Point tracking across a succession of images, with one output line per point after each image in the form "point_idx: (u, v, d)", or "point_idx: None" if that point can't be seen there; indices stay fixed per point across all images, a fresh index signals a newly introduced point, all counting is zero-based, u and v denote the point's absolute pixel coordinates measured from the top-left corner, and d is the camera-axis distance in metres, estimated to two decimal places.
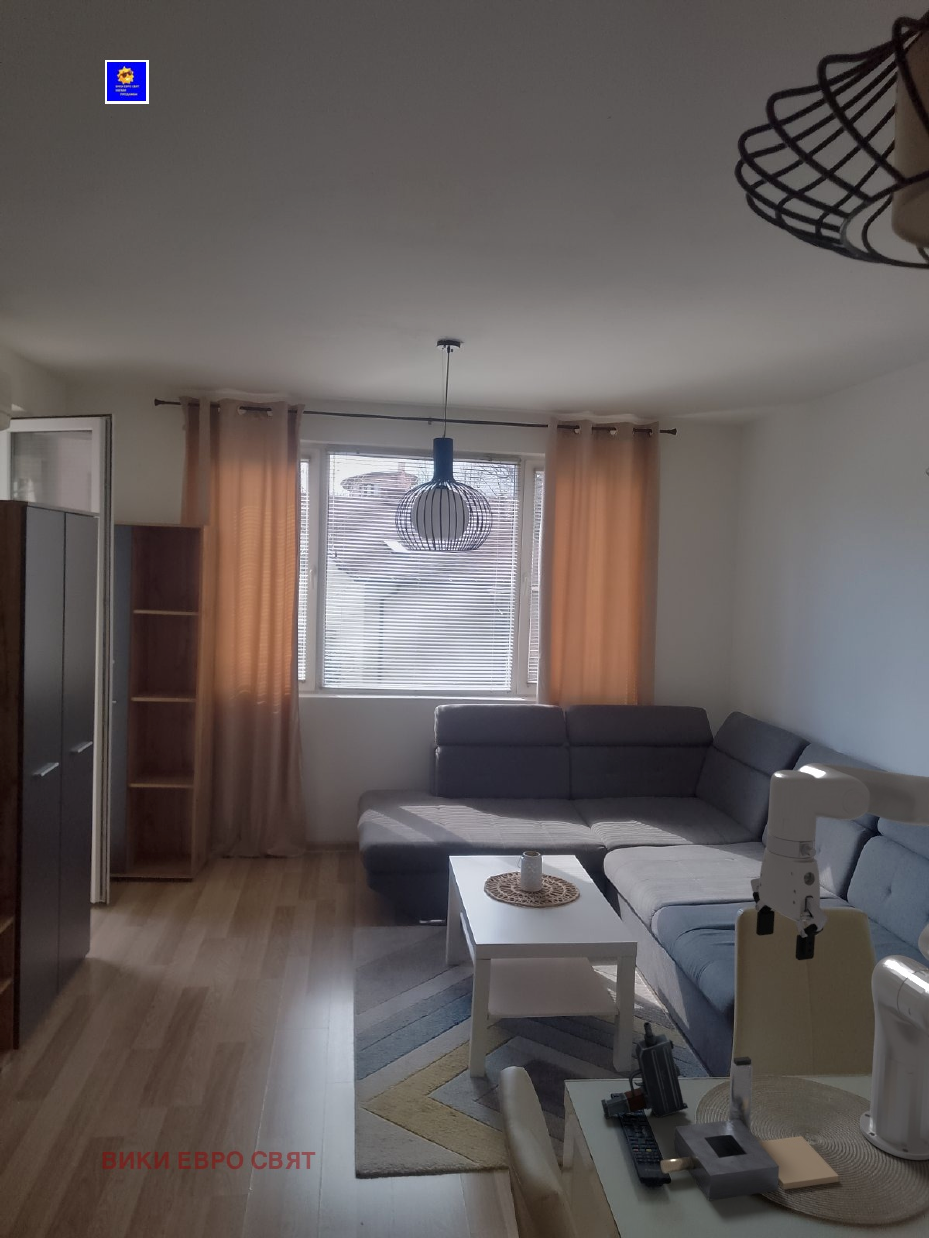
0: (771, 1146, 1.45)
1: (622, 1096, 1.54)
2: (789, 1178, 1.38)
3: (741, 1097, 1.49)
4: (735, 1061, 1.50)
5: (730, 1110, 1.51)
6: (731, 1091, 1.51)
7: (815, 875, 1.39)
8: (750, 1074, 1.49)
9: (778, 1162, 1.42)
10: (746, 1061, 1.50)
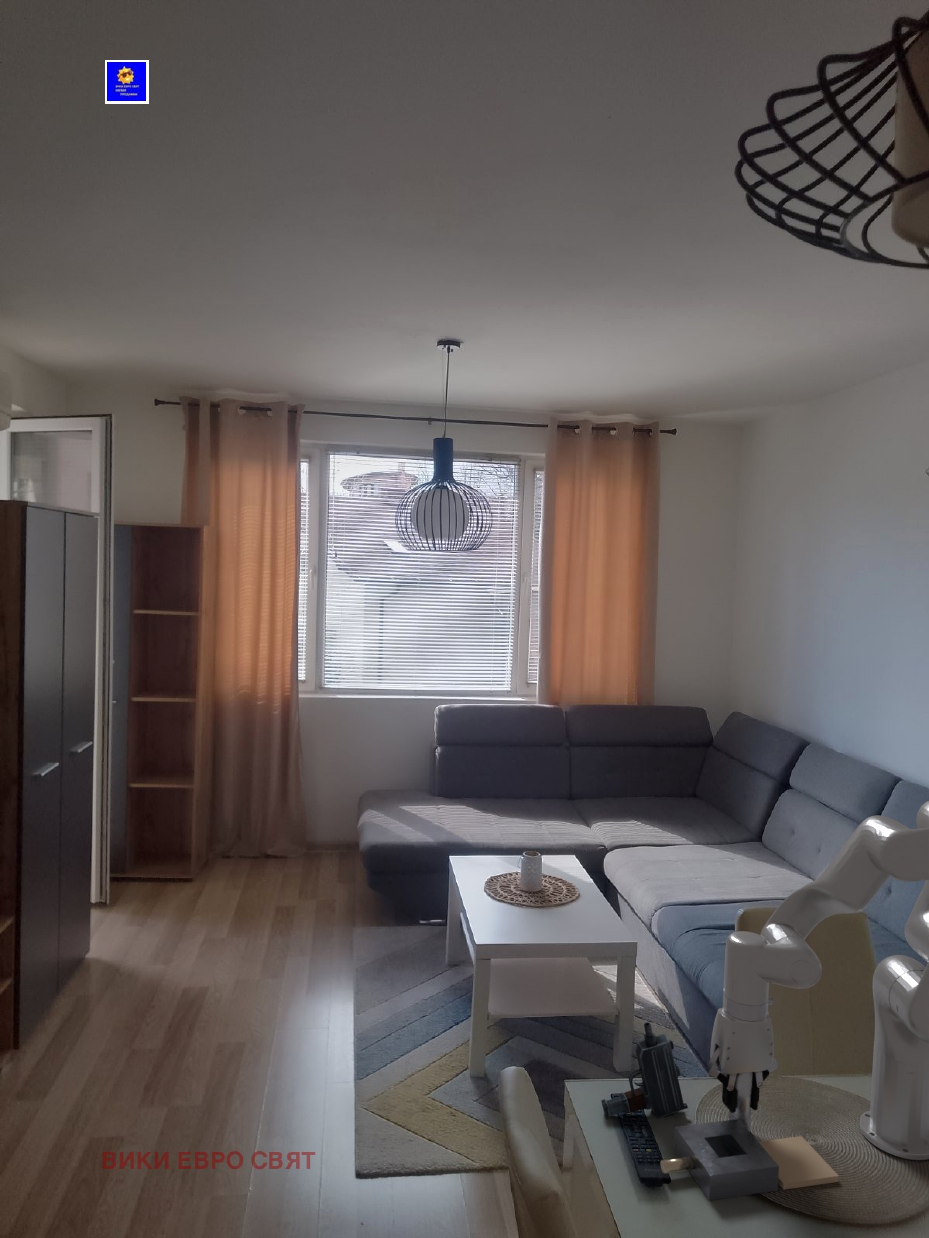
0: (771, 1146, 1.45)
1: (622, 1096, 1.54)
2: (789, 1178, 1.38)
3: (741, 1097, 1.49)
4: None
5: None
6: None
7: None
8: (750, 1074, 1.49)
9: (778, 1162, 1.42)
10: None
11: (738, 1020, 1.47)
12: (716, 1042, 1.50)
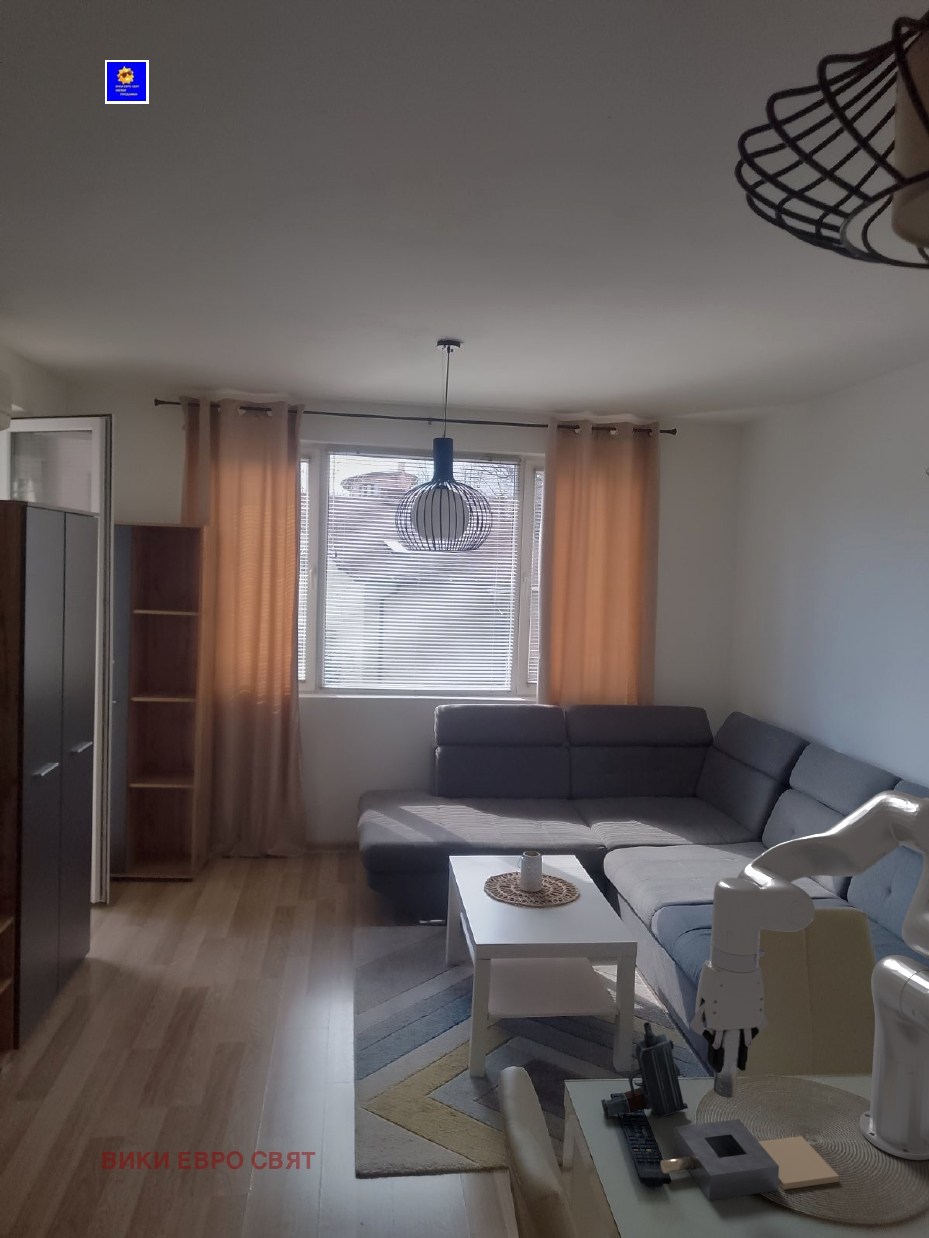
0: (771, 1146, 1.45)
1: (622, 1096, 1.54)
2: (789, 1178, 1.38)
3: (728, 1056, 1.38)
4: None
5: None
6: None
7: None
8: (738, 1031, 1.38)
9: (778, 1162, 1.42)
10: None
11: (726, 971, 1.36)
12: (702, 996, 1.38)
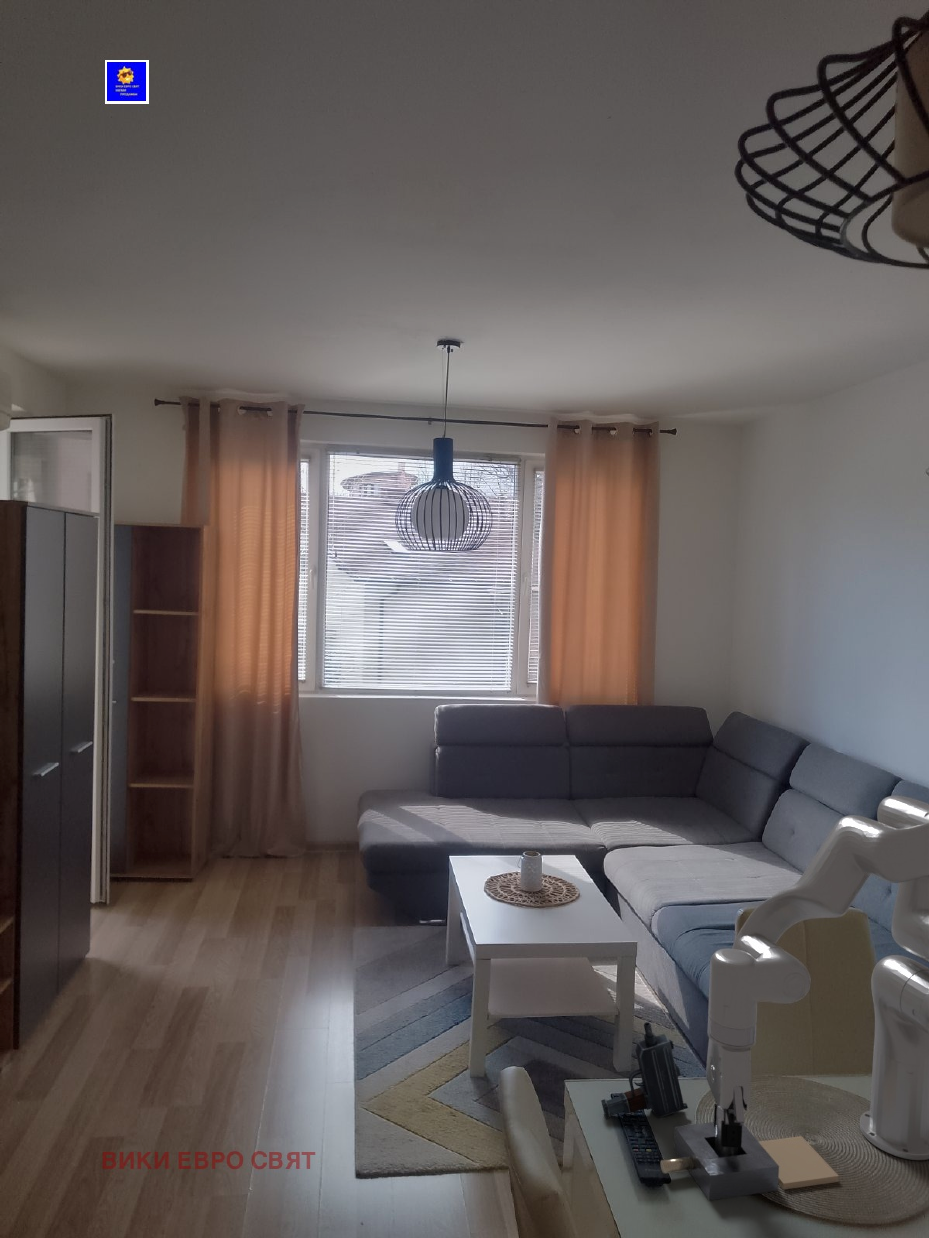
0: (771, 1146, 1.45)
1: (622, 1096, 1.54)
2: (789, 1178, 1.38)
3: None
4: None
5: (728, 1147, 1.39)
6: None
7: None
8: None
9: (778, 1162, 1.42)
10: None
11: (751, 1045, 1.37)
12: (737, 1084, 1.35)
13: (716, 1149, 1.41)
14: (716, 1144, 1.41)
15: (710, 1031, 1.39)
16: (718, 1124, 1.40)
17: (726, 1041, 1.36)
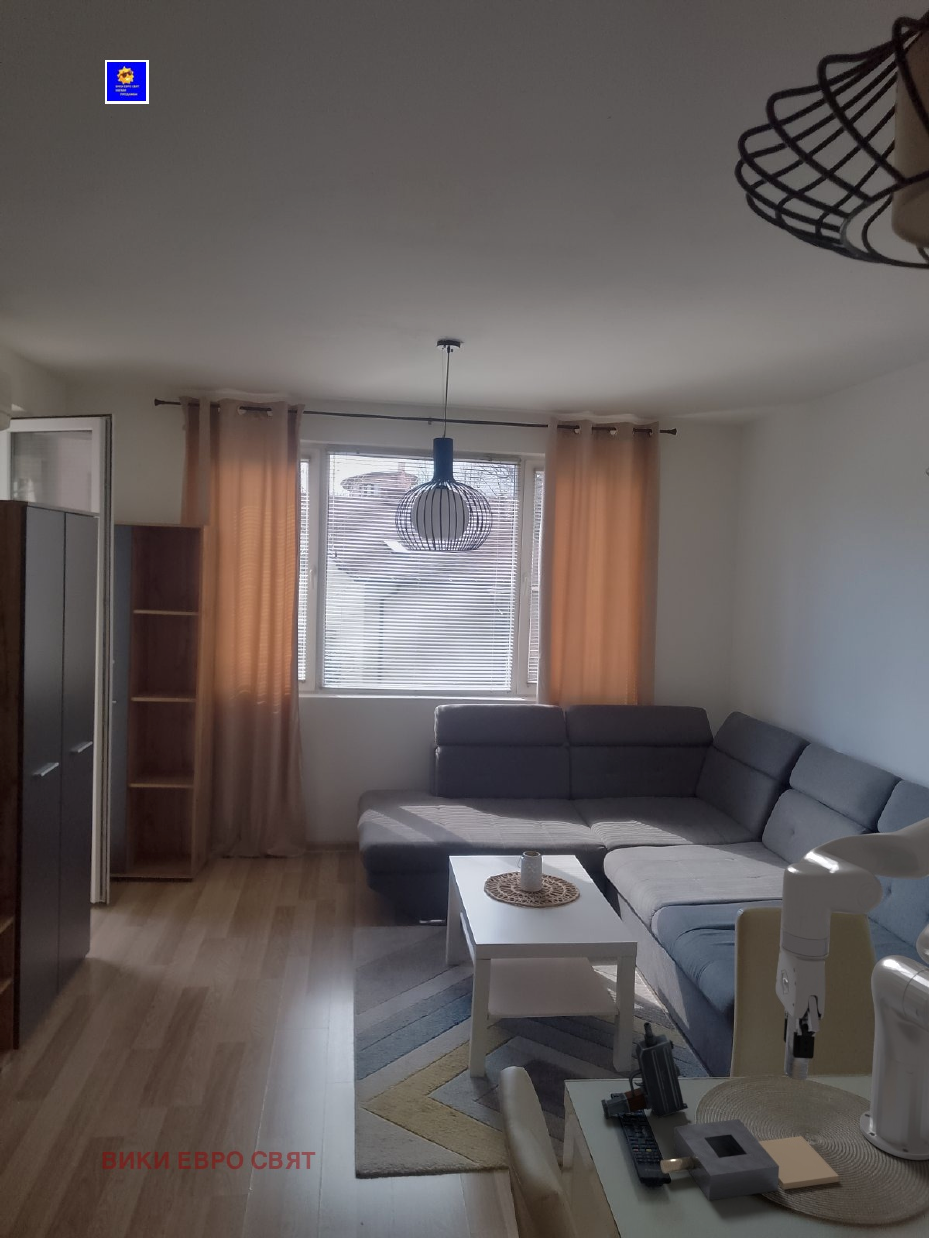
0: (771, 1146, 1.45)
1: (622, 1096, 1.54)
2: (789, 1178, 1.38)
3: None
4: None
5: (799, 1059, 1.40)
6: None
7: None
8: None
9: (778, 1162, 1.42)
10: None
11: (825, 956, 1.38)
12: (812, 993, 1.36)
13: (786, 1061, 1.41)
14: (786, 1056, 1.41)
15: (783, 943, 1.40)
16: (789, 1036, 1.41)
17: (800, 951, 1.37)
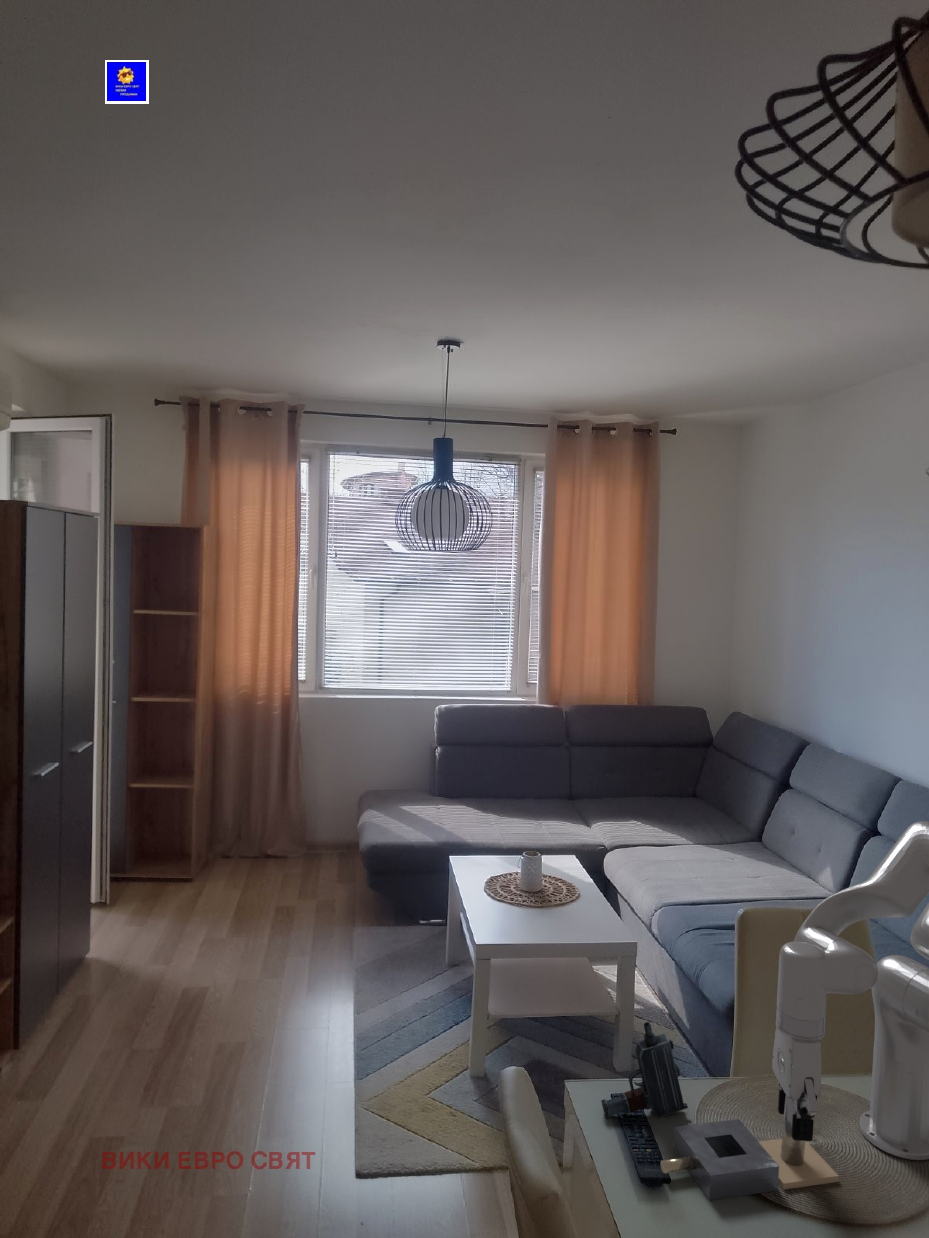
0: (771, 1146, 1.45)
1: (622, 1096, 1.54)
2: (789, 1178, 1.38)
3: None
4: None
5: (796, 1144, 1.41)
6: None
7: None
8: None
9: (778, 1162, 1.42)
10: None
11: (821, 1037, 1.39)
12: (808, 1075, 1.37)
13: (783, 1146, 1.42)
14: (783, 1141, 1.42)
15: (779, 1023, 1.41)
16: (786, 1121, 1.42)
17: (796, 1033, 1.38)
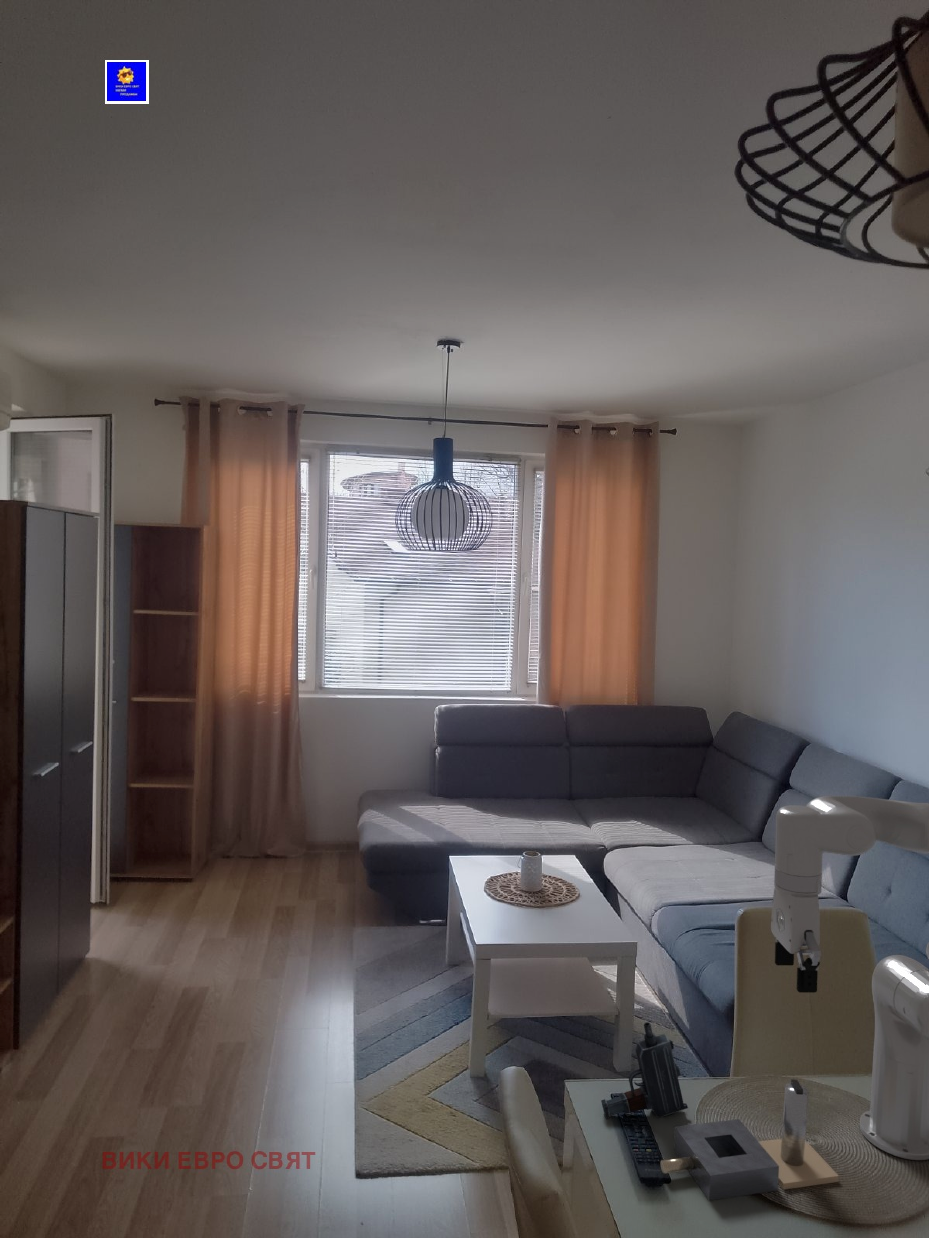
0: (771, 1146, 1.45)
1: (622, 1096, 1.54)
2: (789, 1178, 1.38)
3: None
4: (800, 1091, 1.40)
5: (796, 1145, 1.41)
6: (797, 1125, 1.40)
7: None
8: None
9: (778, 1162, 1.42)
10: (798, 1084, 1.42)
11: (819, 892, 1.43)
12: (807, 928, 1.41)
13: (782, 1147, 1.42)
14: (783, 1142, 1.42)
15: (778, 882, 1.45)
16: (786, 1122, 1.42)
17: (795, 889, 1.43)
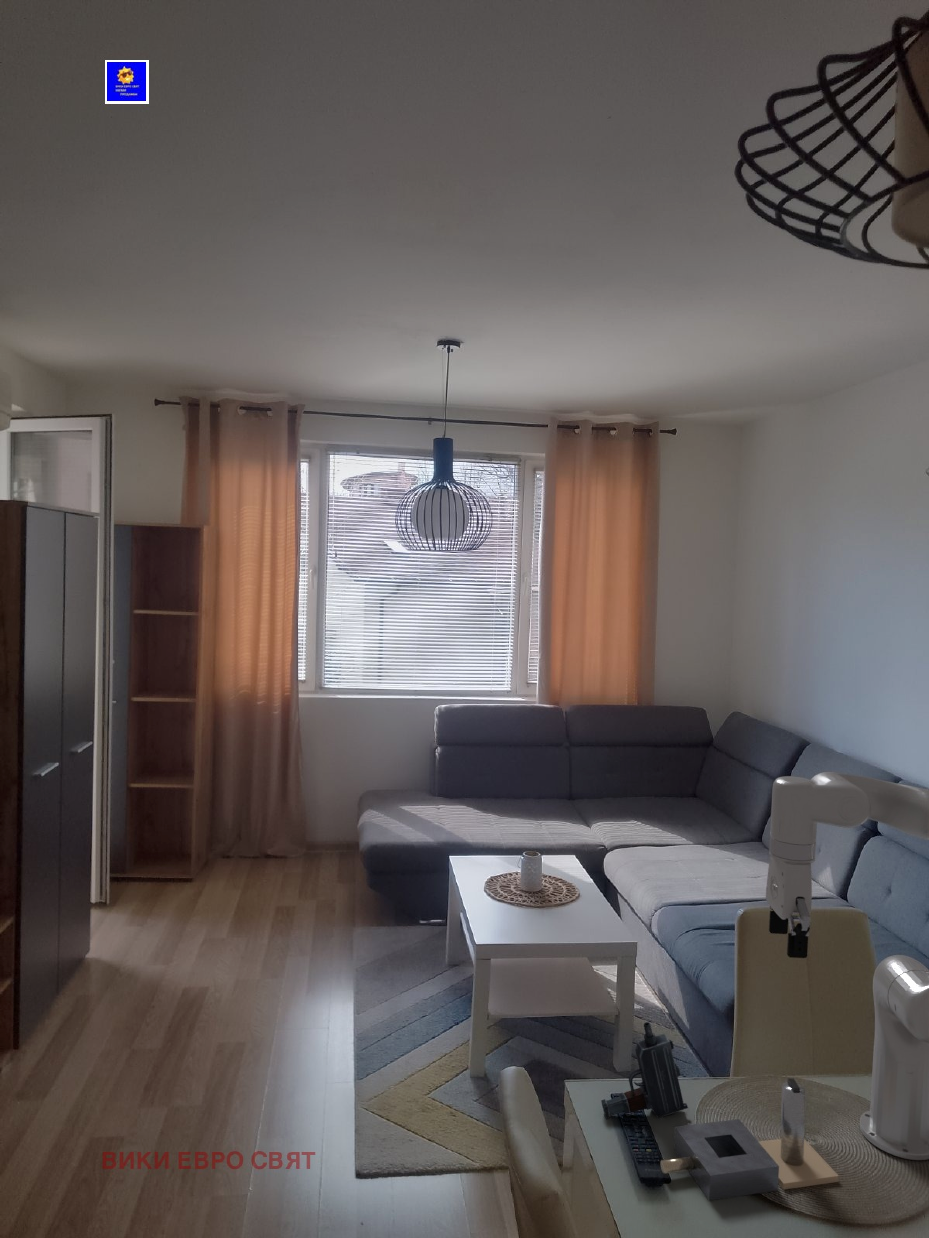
0: (771, 1146, 1.45)
1: (622, 1096, 1.54)
2: (789, 1178, 1.38)
3: (804, 1122, 1.41)
4: (797, 1089, 1.41)
5: (795, 1144, 1.41)
6: (796, 1124, 1.41)
7: None
8: None
9: (778, 1162, 1.42)
10: (795, 1083, 1.43)
11: (812, 861, 1.47)
12: (799, 894, 1.45)
13: (782, 1147, 1.42)
14: (782, 1142, 1.42)
15: (772, 850, 1.49)
16: (784, 1122, 1.42)
17: (788, 856, 1.46)
